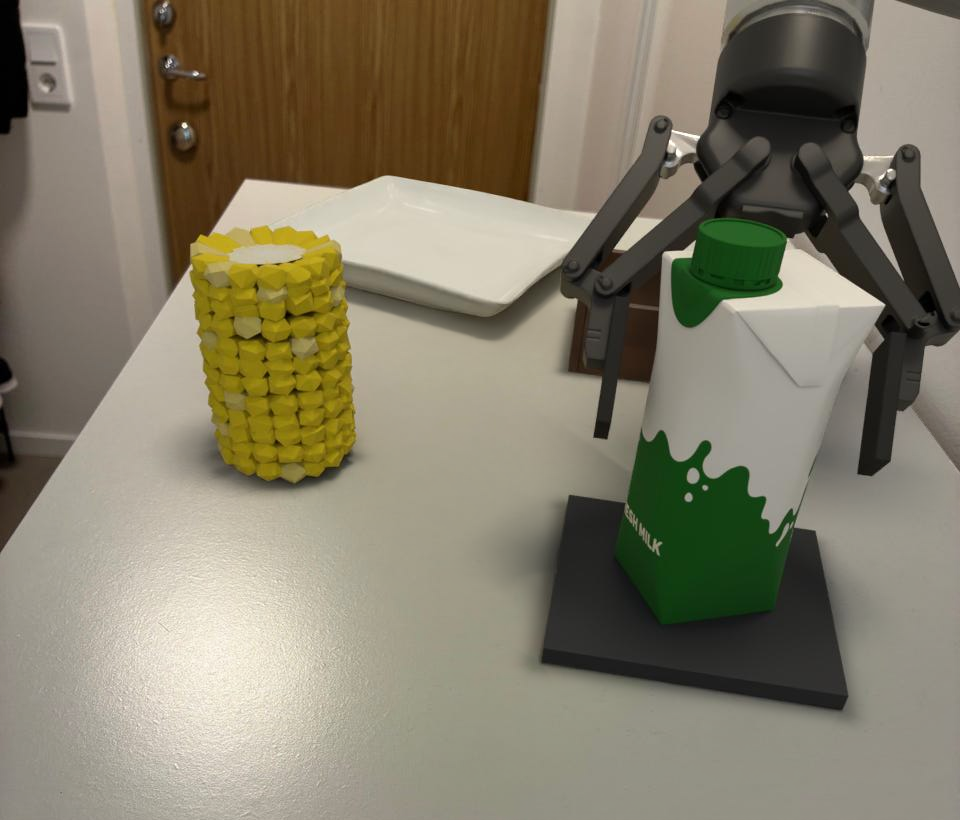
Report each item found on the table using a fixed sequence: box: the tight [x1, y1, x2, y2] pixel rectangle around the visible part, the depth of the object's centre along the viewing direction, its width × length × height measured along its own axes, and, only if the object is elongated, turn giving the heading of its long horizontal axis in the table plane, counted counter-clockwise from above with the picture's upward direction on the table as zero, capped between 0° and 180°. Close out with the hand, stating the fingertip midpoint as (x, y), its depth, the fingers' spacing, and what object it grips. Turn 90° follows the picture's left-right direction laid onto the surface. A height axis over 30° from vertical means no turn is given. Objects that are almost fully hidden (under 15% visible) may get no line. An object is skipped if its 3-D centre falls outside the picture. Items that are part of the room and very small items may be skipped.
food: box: [188, 224, 357, 485], centre depth 63 cm, size 15×12×10 cm
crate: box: [567, 248, 662, 383], centre depth 84 cm, size 14×14×6 cm
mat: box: [541, 494, 849, 710], centre depth 58 cm, size 16×16×1 cm
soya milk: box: [614, 218, 885, 625], centre depth 51 cm, size 9×9×20 cm
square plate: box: [267, 175, 594, 318], centre depth 97 cm, size 27×27×4 cm
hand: (736, 450), depth 49 cm, fingers open, 13 cm apart
